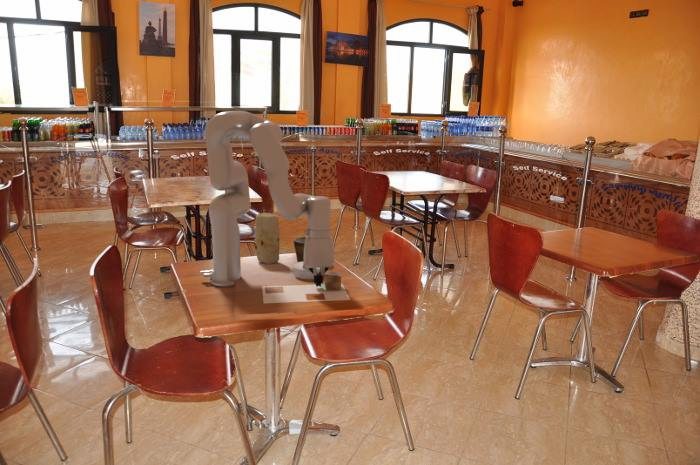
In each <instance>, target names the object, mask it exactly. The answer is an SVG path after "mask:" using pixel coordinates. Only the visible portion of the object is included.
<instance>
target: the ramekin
mask: <svg viewBox="0 0 700 465" xmlns="http://www.w3.org/2000/svg"><path fill="white" fill-rule="evenodd" d="M303 263H304V261H303V262H295V263H294V264H292V270H293V275H294V277H295V278H298V279H301V280H314V274H313V273H312V272H311V271H310V270H304V269H303ZM316 269H317V272H318V273H319V271H320V268H316Z"/></svg>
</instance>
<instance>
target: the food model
mask: <svg viewBox="0 0 700 465" xmlns="http://www.w3.org/2000/svg"><path fill="white" fill-rule="evenodd" d="M254 224H255V225H254V226H255V227H254V241H255V242H254V244H255V252H256V253H255V254H256V257H257V261H258V262H259V263H260V262H261V263H264V264H266V265H271V264H274V263H278V262H279V260H280V249H281V248H280V223H279V216H278V215H277V214H274V213H270V212H261V213H258V214H256V216H255V222H254Z"/></svg>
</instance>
